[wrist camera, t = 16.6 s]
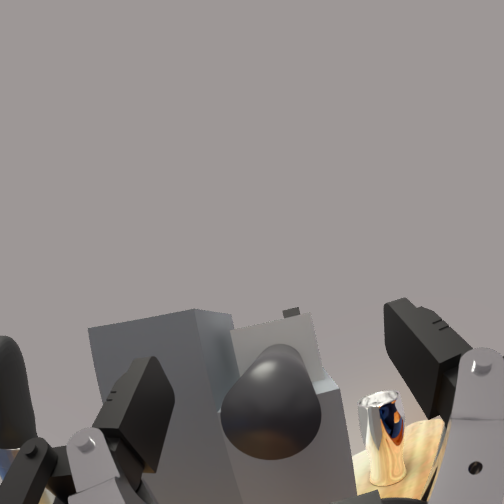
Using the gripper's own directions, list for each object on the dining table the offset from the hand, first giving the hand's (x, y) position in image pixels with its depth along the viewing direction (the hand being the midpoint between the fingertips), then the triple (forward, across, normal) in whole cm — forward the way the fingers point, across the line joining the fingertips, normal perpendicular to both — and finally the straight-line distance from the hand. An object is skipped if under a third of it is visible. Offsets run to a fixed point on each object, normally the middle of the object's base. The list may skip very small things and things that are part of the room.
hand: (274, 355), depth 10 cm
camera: (+9, -1, -11) cm, 14 cm away
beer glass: (+13, +11, -41) cm, 45 cm away
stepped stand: (+2, -6, -34) cm, 35 cm away
